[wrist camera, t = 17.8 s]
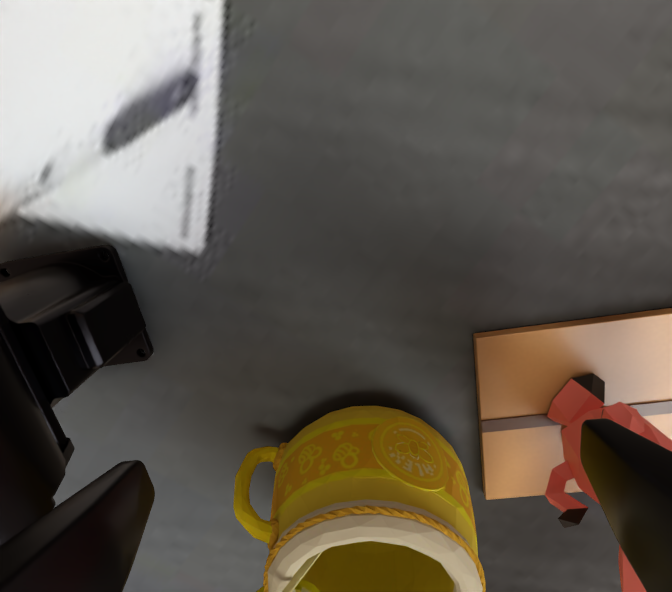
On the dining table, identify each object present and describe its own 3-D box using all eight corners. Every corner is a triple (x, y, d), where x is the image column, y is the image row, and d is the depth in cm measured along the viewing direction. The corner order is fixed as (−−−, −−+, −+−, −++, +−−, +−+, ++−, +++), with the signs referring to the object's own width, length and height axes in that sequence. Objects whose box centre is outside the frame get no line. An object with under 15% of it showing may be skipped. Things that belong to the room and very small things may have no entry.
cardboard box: (483, 492, 25) (486, 501, 25) (472, 333, 21) (476, 339, 21) (674, 475, 24) (683, 484, 23) (699, 303, 20) (711, 309, 20)
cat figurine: (666, 436, 22) (980, 737, 11) (547, 486, 24) (713, 793, 13) (616, 338, 20) (932, 582, 9) (490, 401, 22) (627, 671, 11)
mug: (493, 425, 23) (616, 688, 12) (412, 549, 27) (450, 834, 16) (282, 350, 22) (205, 561, 11) (229, 489, 26) (133, 751, 15)
